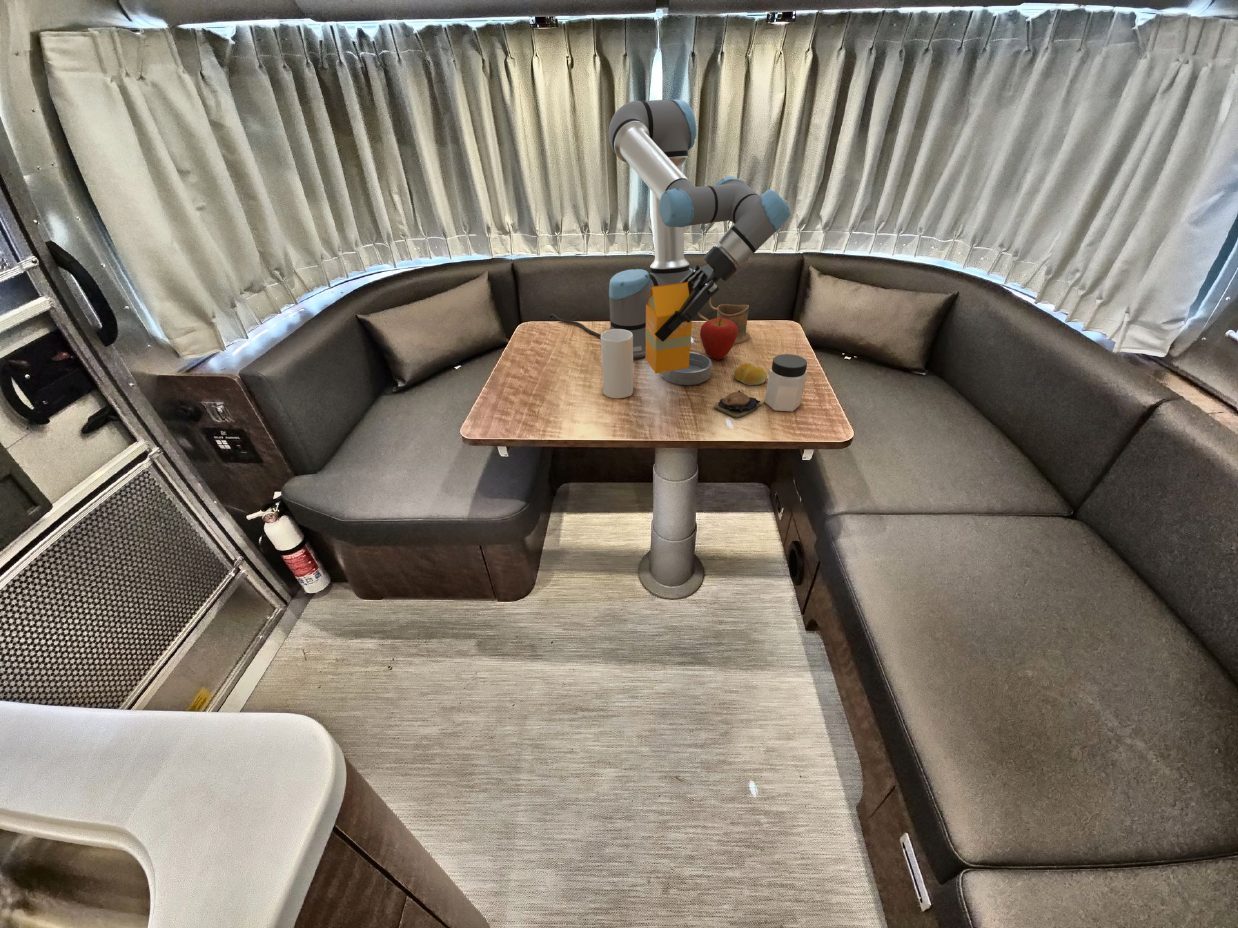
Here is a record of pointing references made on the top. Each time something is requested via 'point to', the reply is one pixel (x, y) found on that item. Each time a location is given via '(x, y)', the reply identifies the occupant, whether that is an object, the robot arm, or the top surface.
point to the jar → (786, 382)
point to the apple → (718, 337)
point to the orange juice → (657, 313)
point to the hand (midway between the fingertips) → (655, 330)
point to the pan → (691, 371)
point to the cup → (617, 363)
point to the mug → (733, 318)
